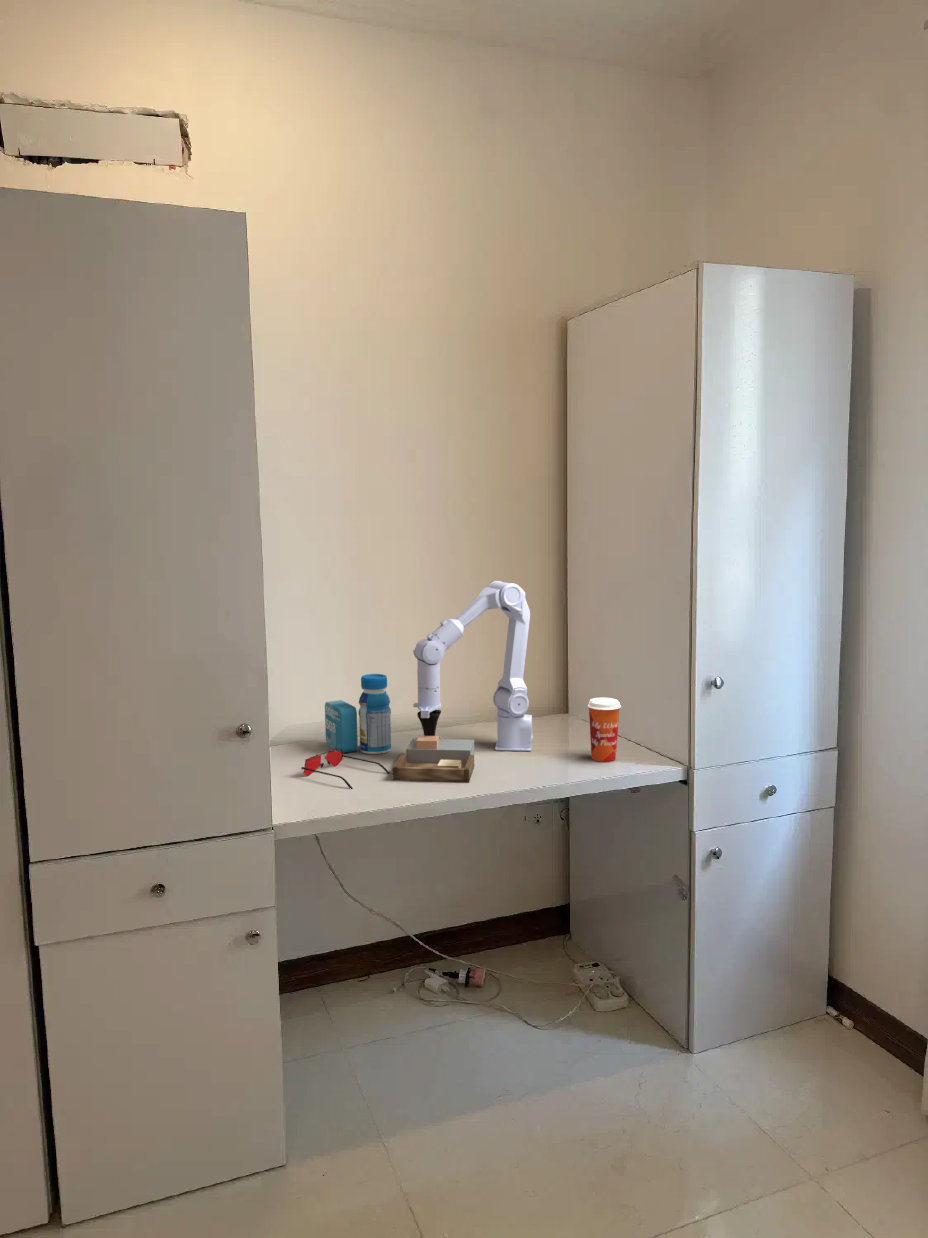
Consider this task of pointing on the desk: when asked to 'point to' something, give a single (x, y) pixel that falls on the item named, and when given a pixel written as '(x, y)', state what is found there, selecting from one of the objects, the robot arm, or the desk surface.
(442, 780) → the walnut box
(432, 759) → the slate slab
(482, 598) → the robot arm
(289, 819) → the desk surface
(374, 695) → the beverage bottle
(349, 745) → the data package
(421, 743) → the terracotta tile
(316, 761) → the glasses
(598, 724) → the coffee cup
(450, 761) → the ash tile
